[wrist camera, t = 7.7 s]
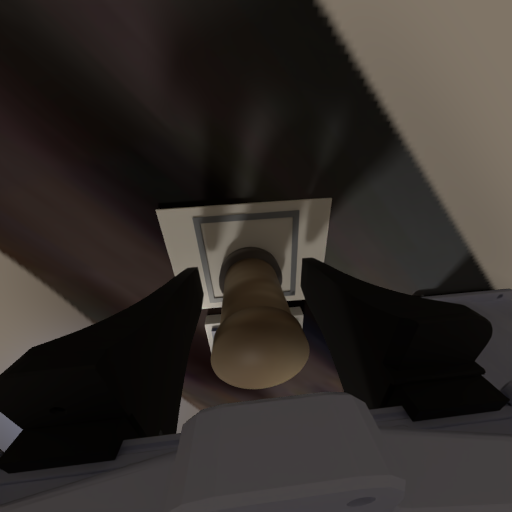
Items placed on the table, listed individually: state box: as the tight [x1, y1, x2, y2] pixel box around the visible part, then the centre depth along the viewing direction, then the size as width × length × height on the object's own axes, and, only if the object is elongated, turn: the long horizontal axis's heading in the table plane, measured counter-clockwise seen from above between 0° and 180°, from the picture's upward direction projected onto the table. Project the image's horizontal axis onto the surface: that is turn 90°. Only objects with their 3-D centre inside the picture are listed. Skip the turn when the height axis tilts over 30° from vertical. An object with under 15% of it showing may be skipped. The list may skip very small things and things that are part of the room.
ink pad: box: [205, 307, 303, 354], centre depth 16 cm, size 8×5×1 cm, turn 93°
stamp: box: [211, 247, 309, 389], centre depth 11 cm, size 4×4×7 cm
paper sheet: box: [156, 198, 332, 309], centre depth 13 cm, size 11×8×1 cm
